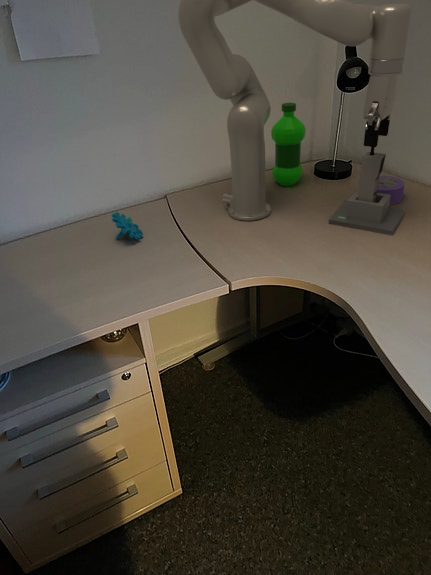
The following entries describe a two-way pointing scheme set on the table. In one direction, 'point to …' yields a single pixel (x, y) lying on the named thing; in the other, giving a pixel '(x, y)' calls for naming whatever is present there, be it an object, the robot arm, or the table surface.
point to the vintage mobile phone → (370, 175)
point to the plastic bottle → (288, 146)
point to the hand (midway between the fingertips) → (375, 140)
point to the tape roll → (391, 188)
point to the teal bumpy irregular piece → (126, 226)
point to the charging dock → (368, 214)
